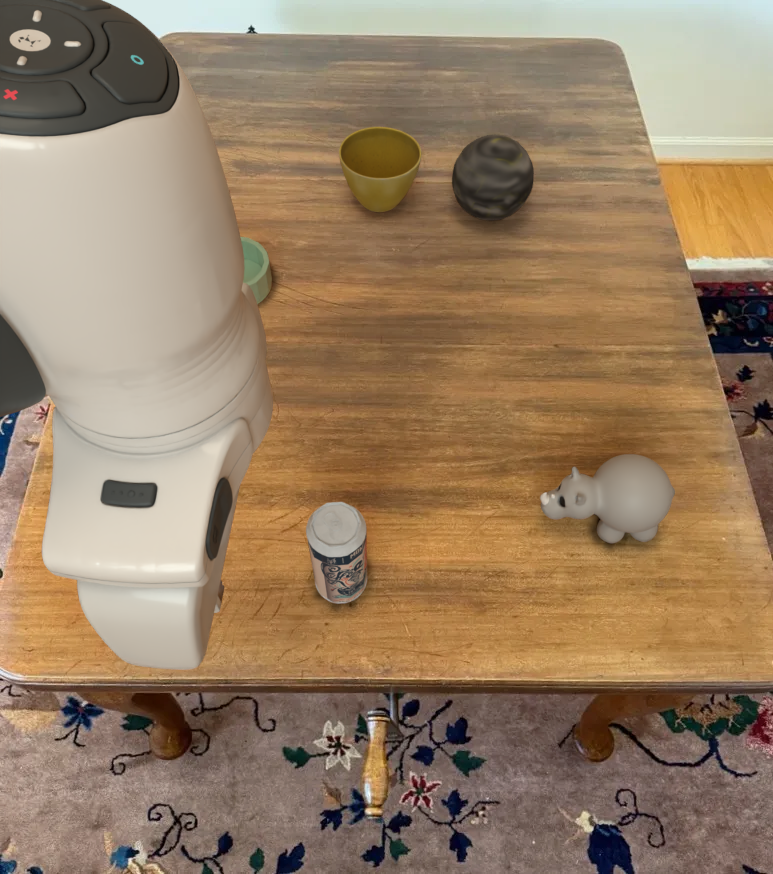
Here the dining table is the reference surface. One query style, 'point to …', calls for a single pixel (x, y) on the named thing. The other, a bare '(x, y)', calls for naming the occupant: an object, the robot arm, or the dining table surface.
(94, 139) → the robot arm
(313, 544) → the beer can
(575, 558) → the dining table surface
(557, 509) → the chubby cartoon animal
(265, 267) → the shallow round green bowl
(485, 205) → the decorative stone
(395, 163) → the flower pot
